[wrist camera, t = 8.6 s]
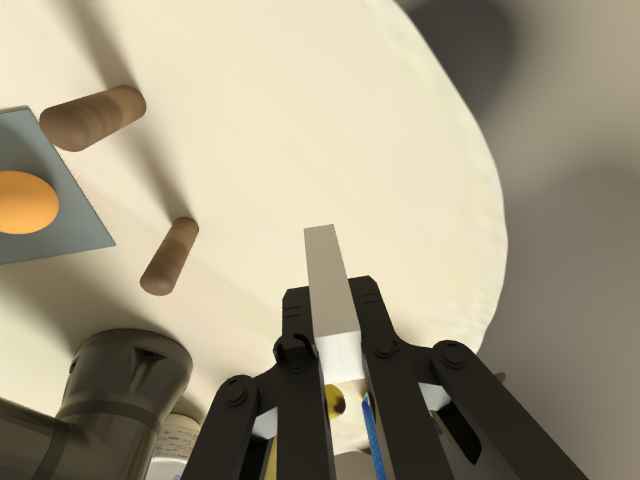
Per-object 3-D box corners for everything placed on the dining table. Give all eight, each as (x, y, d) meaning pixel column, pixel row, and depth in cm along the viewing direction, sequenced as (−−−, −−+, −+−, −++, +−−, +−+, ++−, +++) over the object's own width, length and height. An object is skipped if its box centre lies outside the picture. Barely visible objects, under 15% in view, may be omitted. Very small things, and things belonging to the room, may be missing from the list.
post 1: (121, 121, 26) (57, 154, 19) (105, 88, 25) (28, 110, 17) (151, 116, 26) (98, 148, 19) (137, 83, 25) (73, 103, 17)
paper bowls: (198, 449, 61) (187, 499, 55) (116, 437, 56) (93, 491, 49) (227, 413, 54) (219, 464, 48) (137, 395, 49) (115, 451, 42)
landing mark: (-12, 265, 33) (-13, 266, 33) (-139, 135, 25) (-141, 136, 25) (116, 244, 33) (115, 245, 33) (29, 109, 25) (28, 109, 25)
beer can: (354, 389, 54) (377, 503, 41) (400, 376, 53) (438, 489, 40) (366, 410, 59) (390, 519, 45) (408, 398, 58) (445, 506, 44)
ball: (17, 251, 25) (83, 218, 29) (-34, 191, 22) (47, 163, 26) (-11, 240, 27) (53, 210, 31) (-62, 184, 24) (17, 158, 28)
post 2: (179, 239, 33) (148, 297, 26) (169, 219, 32) (133, 275, 24) (202, 235, 33) (178, 293, 26) (193, 215, 32) (165, 270, 24)
